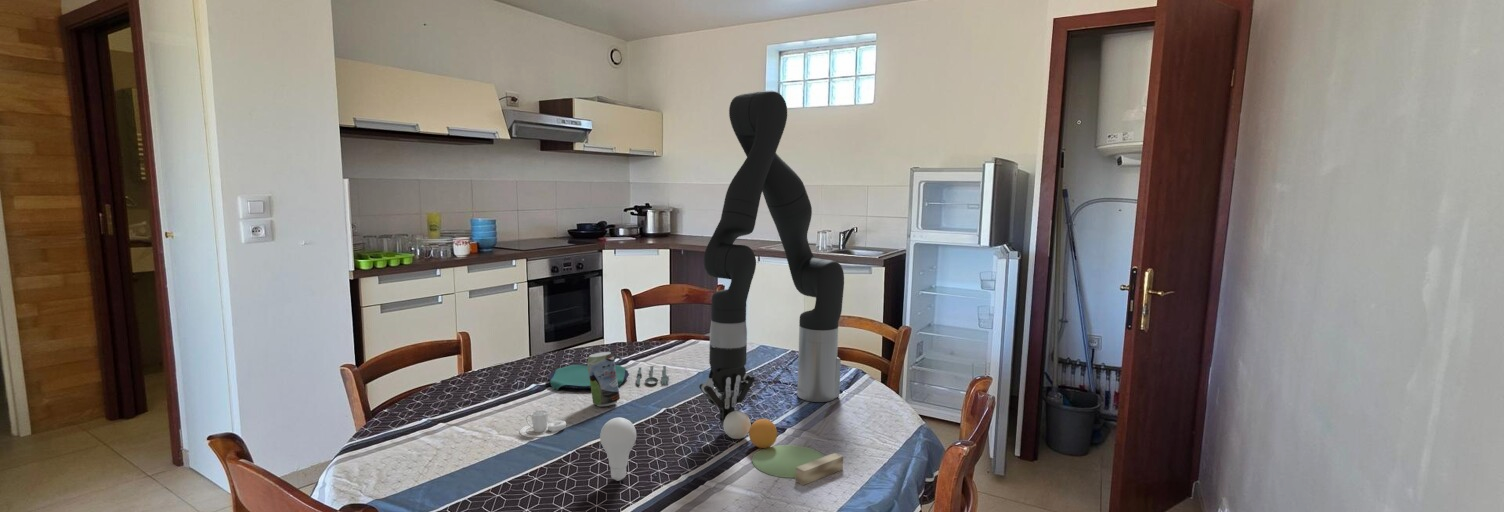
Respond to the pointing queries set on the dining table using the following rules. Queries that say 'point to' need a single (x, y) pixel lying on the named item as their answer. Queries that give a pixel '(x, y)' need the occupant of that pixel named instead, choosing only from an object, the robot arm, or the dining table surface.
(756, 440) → the orange ball
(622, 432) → the lightbulb
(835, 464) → the stopper wall
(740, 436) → the white ball
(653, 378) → the cutlery set
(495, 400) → the dining table surface
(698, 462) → the dining table surface
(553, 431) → the teacup and saucer
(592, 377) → the beverage can
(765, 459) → the green mark
